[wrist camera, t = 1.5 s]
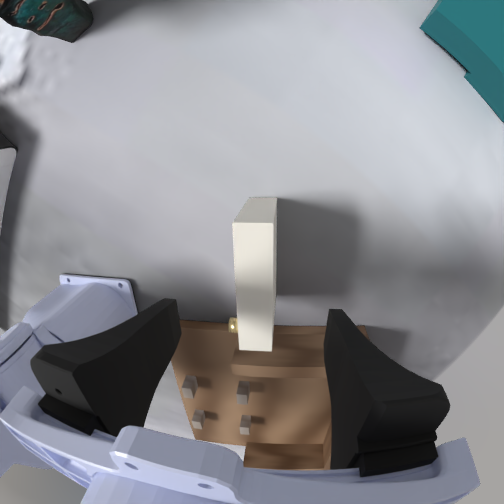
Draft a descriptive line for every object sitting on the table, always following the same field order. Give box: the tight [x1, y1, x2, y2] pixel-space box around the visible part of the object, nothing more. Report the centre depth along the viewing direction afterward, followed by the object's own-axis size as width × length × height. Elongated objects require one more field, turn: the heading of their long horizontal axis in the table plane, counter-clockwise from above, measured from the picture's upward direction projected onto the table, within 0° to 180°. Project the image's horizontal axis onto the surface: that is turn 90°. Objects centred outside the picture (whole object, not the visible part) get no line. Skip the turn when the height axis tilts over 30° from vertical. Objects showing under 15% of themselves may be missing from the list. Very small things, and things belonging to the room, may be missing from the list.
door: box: [228, 198, 277, 351], centre depth 18 cm, size 3×8×7 cm, turn 1°
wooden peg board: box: [171, 320, 370, 470], centre depth 25 cm, size 18×20×5 cm
